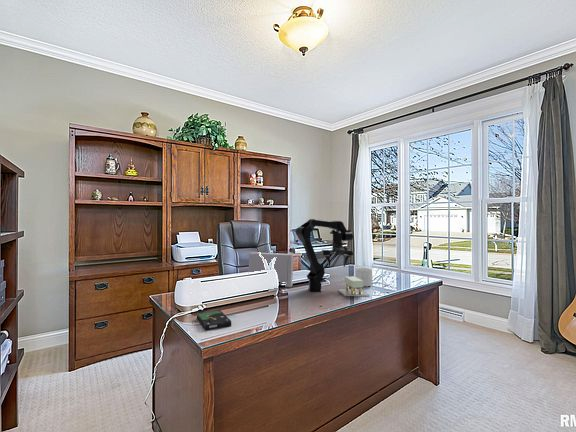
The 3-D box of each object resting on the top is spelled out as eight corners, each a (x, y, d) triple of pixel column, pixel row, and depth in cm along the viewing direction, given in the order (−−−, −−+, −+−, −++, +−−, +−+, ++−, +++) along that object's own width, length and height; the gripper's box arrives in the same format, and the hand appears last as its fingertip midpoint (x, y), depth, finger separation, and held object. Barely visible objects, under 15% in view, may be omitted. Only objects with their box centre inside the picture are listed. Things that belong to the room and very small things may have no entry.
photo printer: (371, 285, 190) (371, 266, 190) (372, 287, 186) (373, 267, 186) (355, 284, 191) (355, 265, 191) (356, 286, 187) (356, 266, 187)
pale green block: (352, 287, 163) (352, 281, 163) (344, 282, 174) (344, 276, 174) (363, 287, 164) (363, 280, 164) (354, 282, 175) (354, 276, 175)
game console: (290, 287, 181) (291, 255, 181) (248, 284, 186) (248, 253, 186) (292, 285, 186) (293, 253, 186) (251, 282, 192) (251, 252, 192)
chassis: (344, 296, 162) (345, 287, 162) (338, 291, 174) (338, 282, 174) (369, 296, 164) (369, 287, 164) (361, 290, 176) (361, 282, 176)
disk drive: (231, 327, 116) (220, 316, 129) (232, 320, 116) (220, 309, 129) (205, 332, 111) (195, 319, 124) (205, 325, 111) (196, 313, 124)
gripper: (325, 242, 173) (325, 269, 173) (356, 242, 175) (356, 268, 175) (321, 240, 184) (320, 265, 184) (350, 240, 186) (349, 265, 186)
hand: (336, 266), depth 182 cm, fingers open, 9 cm apart
